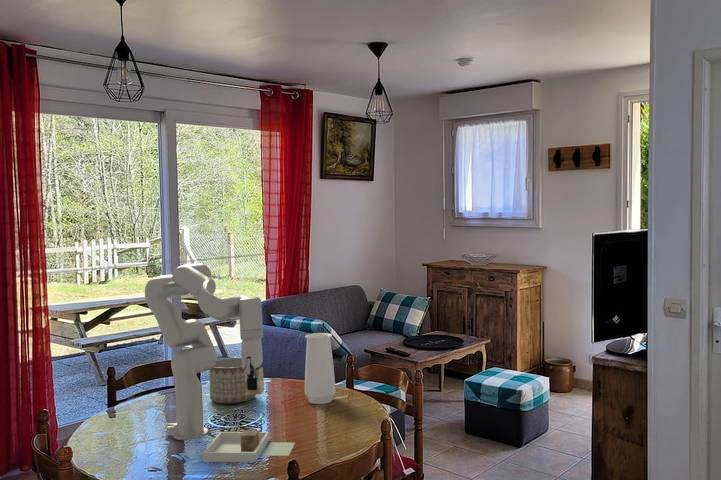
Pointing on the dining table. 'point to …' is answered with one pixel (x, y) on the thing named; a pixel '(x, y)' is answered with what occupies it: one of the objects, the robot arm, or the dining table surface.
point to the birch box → (259, 382)
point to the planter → (228, 382)
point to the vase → (319, 369)
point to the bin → (232, 448)
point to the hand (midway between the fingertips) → (254, 386)
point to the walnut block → (249, 440)
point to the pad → (278, 449)
